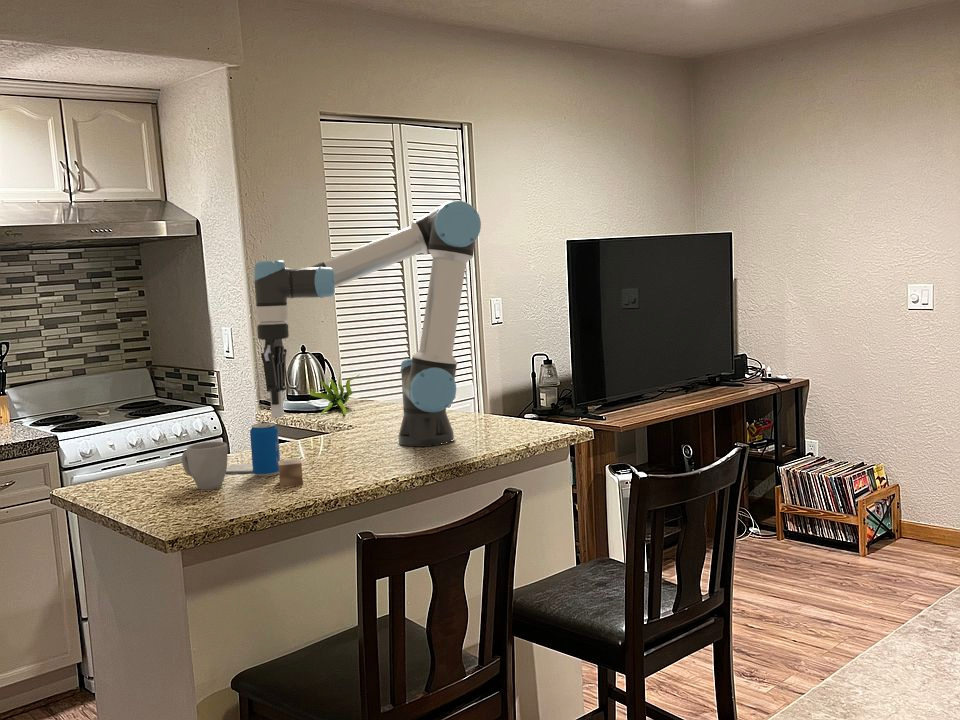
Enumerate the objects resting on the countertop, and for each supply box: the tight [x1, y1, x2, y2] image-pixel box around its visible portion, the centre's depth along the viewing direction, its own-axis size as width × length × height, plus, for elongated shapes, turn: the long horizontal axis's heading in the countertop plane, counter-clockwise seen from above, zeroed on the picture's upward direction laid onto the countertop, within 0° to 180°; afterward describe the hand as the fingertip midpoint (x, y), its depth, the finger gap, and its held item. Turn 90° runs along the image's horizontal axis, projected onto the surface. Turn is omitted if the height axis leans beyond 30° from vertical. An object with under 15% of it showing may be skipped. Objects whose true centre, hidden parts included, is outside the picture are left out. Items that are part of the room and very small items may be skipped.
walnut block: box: [278, 458, 304, 488], centre depth 209 cm, size 5×5×5 cm
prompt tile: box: [225, 463, 254, 475], centre depth 226 cm, size 9×9×1 cm
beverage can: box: [249, 422, 281, 478], centre depth 219 cm, size 6×6×12 cm
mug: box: [181, 441, 228, 491], centre depth 209 cm, size 12×9×10 cm
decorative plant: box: [308, 372, 360, 417], centre depth 312 cm, size 18×30×15 cm, turn 164°
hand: (277, 416), depth 230 cm, fingers closed
